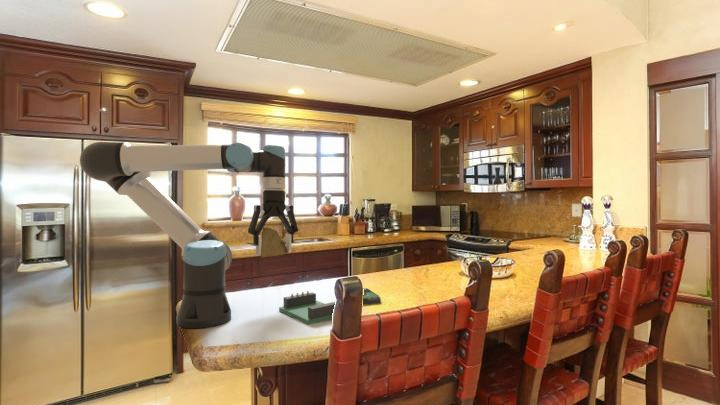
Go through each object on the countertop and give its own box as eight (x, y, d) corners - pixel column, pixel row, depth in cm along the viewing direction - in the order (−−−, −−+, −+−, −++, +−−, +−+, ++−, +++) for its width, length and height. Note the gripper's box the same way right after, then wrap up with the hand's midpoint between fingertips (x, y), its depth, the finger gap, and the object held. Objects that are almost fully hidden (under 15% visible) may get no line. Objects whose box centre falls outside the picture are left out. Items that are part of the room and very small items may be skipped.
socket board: (308, 324, 106) (308, 306, 106) (279, 310, 120) (279, 295, 120) (346, 315, 115) (346, 298, 115) (315, 303, 129) (315, 288, 129)
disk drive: (341, 297, 141) (353, 306, 127) (341, 290, 141) (353, 298, 127) (367, 295, 144) (381, 304, 130) (367, 287, 144) (381, 296, 130)
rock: (287, 246, 136) (259, 243, 133) (291, 228, 131) (263, 225, 128) (287, 267, 127) (257, 265, 124) (291, 249, 122) (261, 246, 120)
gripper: (246, 188, 118) (245, 257, 117) (308, 190, 132) (308, 251, 132) (237, 189, 123) (237, 255, 123) (297, 191, 138) (297, 250, 138)
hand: (273, 253), depth 128 cm, fingers closed on rock, 11 cm apart
